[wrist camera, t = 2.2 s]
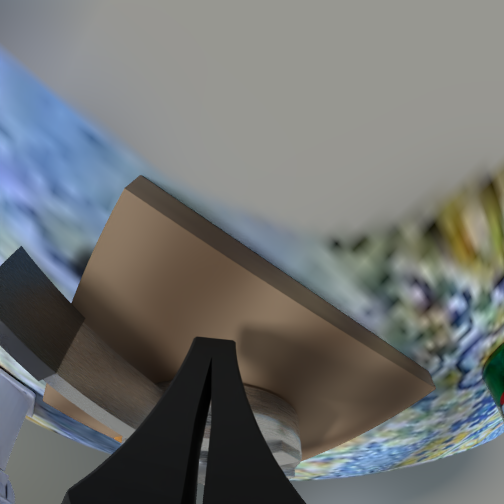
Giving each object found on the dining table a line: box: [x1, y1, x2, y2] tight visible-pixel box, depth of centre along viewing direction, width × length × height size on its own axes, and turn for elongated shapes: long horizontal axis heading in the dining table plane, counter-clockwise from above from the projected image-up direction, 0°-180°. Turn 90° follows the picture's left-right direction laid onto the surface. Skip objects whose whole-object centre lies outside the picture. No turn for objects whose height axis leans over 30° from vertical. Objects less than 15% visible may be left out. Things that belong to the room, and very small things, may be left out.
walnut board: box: [43, 175, 436, 462], centre depth 16 cm, size 20×20×2 cm
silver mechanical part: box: [0, 246, 302, 486], centre depth 12 cm, size 19×10×4 cm, turn 32°
